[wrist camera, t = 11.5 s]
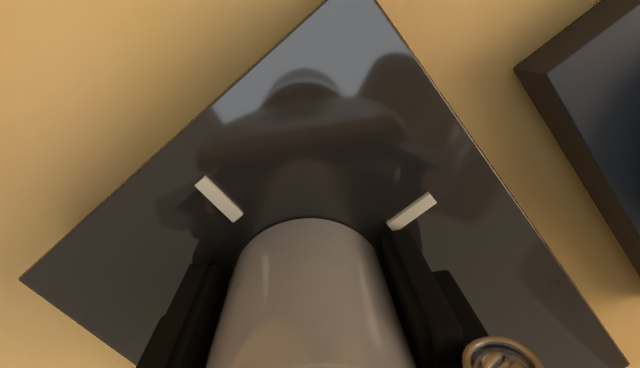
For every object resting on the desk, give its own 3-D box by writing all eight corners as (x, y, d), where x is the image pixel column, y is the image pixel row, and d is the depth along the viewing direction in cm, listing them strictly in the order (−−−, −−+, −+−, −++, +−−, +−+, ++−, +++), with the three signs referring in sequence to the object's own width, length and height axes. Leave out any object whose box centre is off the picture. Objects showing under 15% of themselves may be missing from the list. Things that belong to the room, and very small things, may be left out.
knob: (319, 185, 10) (335, 330, 5) (414, 292, 11) (498, 487, 6) (199, 279, 11) (115, 480, 6) (300, 368, 12) (298, 592, 7)
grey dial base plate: (581, 314, 15) (635, 369, 13) (342, 457, 18) (348, 526, 15) (344, -16, 11) (357, -32, 8) (67, 236, 13) (11, 283, 11)
